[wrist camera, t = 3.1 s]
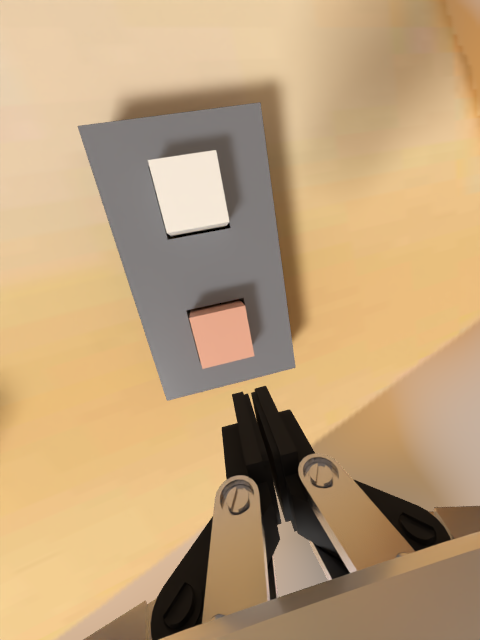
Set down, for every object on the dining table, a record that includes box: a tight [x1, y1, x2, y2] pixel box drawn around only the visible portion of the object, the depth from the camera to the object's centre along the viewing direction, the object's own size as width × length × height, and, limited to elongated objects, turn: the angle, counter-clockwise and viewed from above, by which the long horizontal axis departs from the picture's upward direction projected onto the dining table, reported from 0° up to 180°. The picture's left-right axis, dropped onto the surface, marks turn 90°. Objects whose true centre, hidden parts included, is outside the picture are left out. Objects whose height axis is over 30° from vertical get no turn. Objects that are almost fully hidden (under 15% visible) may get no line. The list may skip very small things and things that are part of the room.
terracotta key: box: [189, 300, 254, 369], centre depth 22 cm, size 5×5×3 cm
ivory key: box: [148, 150, 229, 237], centre depth 19 cm, size 5×5×3 cm
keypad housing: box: [78, 103, 295, 401], centre depth 23 cm, size 24×14×4 cm, turn 11°
